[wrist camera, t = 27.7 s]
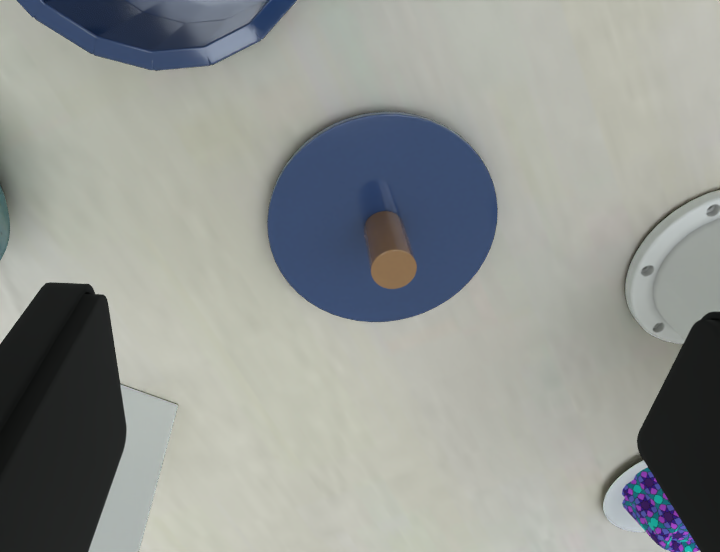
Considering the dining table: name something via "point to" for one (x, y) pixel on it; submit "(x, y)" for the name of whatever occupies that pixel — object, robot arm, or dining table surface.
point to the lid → (382, 216)
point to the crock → (160, 28)
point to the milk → (135, 472)
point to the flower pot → (3, 224)
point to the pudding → (646, 510)
